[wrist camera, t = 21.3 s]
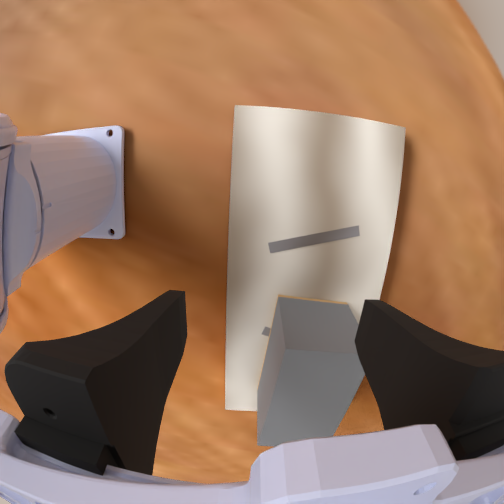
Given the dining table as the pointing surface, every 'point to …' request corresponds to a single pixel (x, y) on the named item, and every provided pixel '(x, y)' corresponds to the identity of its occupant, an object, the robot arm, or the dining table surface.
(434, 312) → the dining table surface
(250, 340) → the cream flat panel
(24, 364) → the robot arm
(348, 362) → the block
